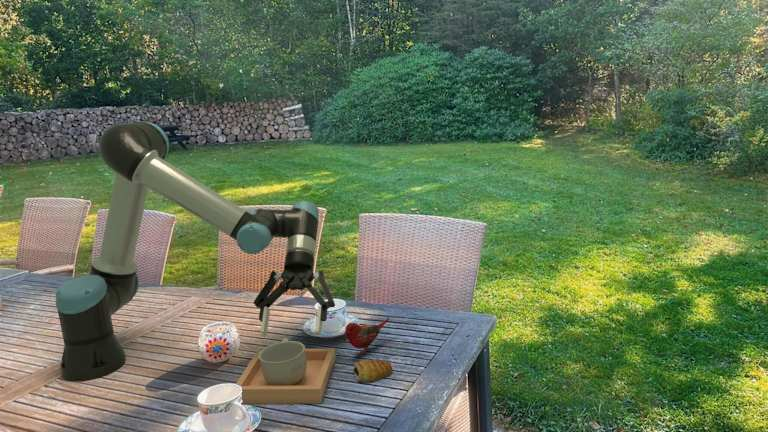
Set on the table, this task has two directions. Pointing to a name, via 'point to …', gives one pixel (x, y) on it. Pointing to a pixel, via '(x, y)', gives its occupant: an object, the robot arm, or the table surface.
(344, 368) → the table surface
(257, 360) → the shallow wooden tray
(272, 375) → the teacup
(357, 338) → the decorative bird figurine
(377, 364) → the pastry
